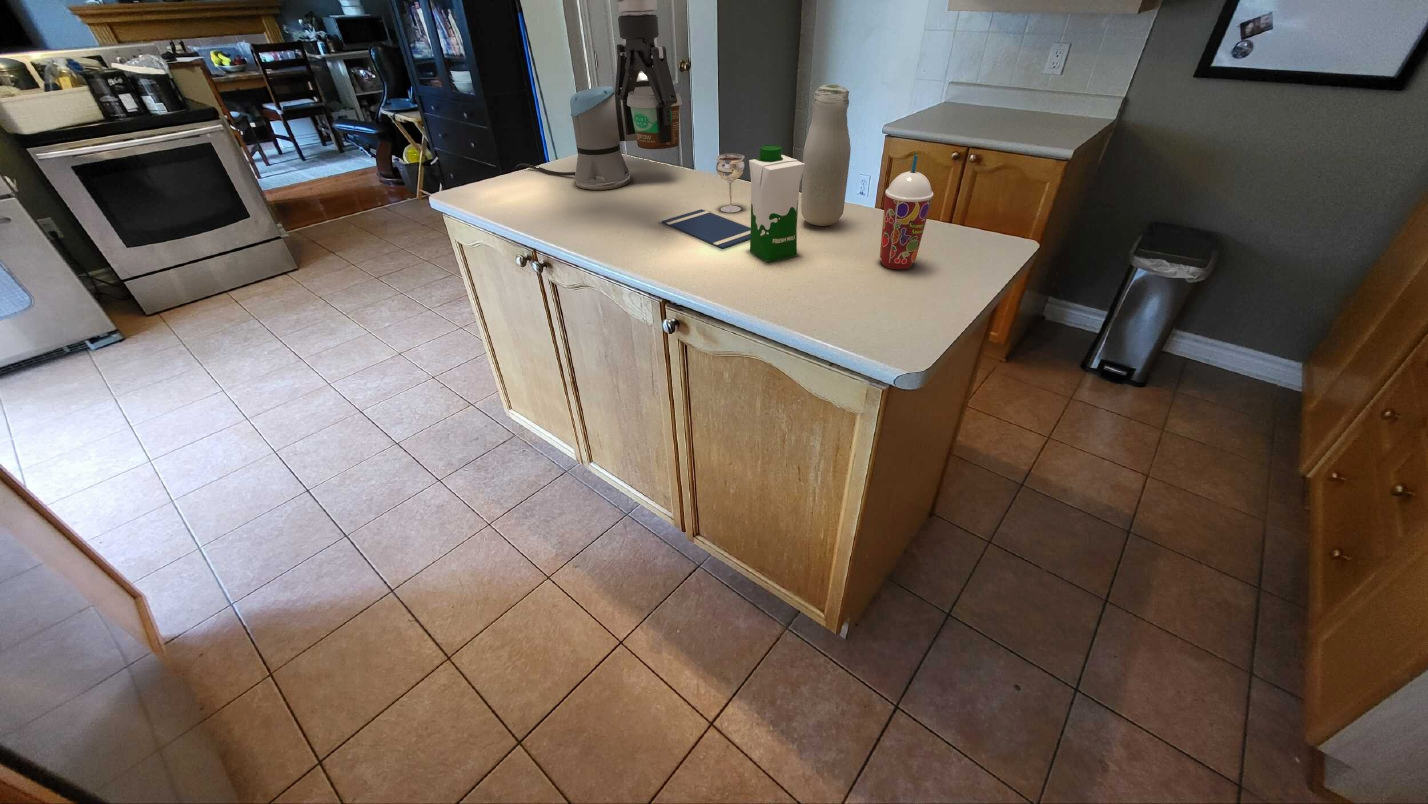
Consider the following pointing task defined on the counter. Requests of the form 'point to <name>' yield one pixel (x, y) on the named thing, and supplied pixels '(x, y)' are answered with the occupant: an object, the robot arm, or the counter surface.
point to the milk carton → (774, 204)
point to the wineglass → (730, 174)
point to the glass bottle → (826, 157)
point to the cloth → (710, 228)
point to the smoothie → (904, 218)
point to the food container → (652, 121)
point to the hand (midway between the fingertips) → (648, 138)
